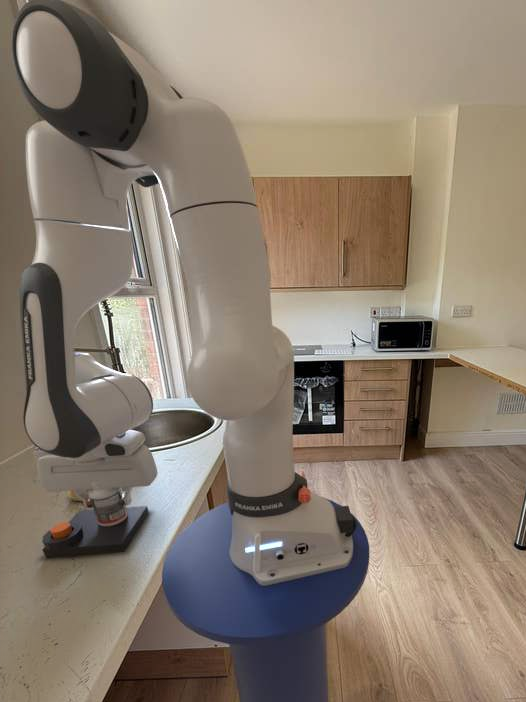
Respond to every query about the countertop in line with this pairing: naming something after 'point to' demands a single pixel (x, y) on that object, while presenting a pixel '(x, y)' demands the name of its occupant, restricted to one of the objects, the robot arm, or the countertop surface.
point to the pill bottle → (107, 505)
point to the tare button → (61, 530)
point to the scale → (95, 534)
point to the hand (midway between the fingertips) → (109, 504)
